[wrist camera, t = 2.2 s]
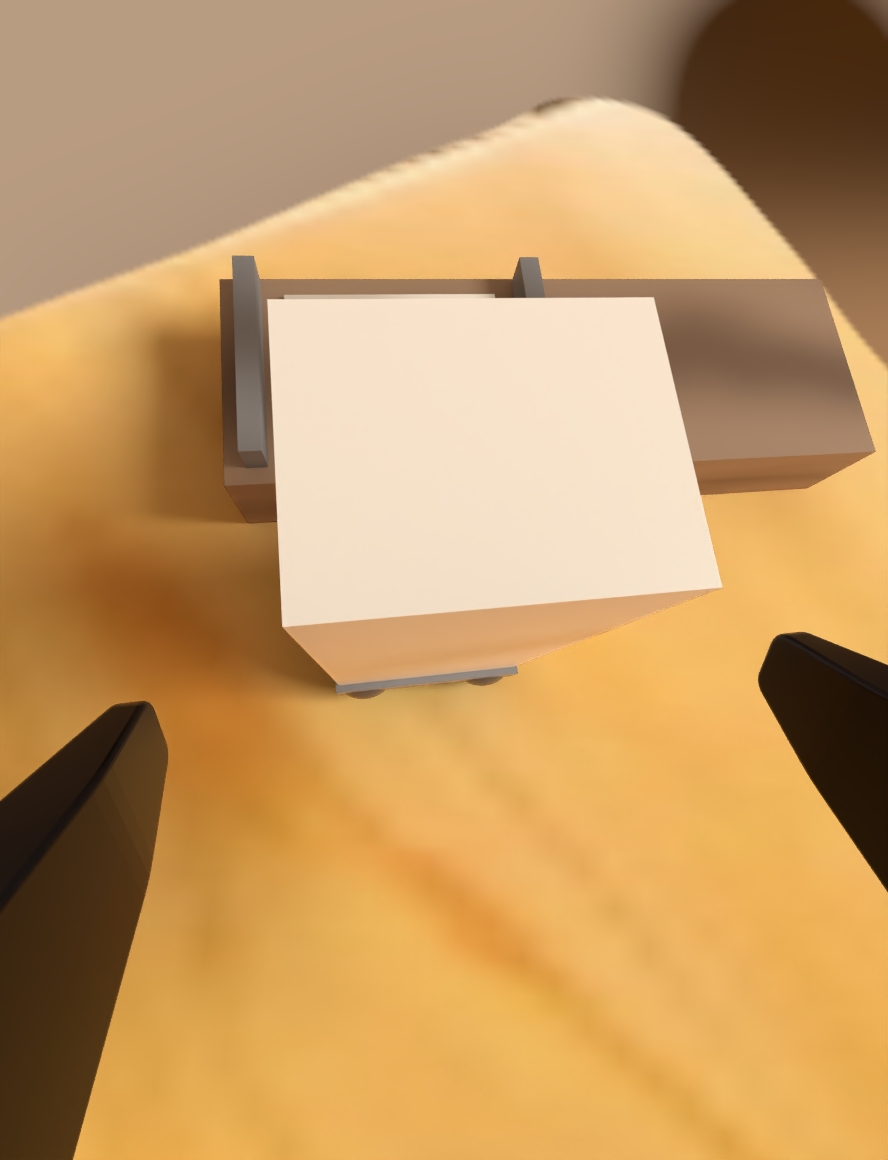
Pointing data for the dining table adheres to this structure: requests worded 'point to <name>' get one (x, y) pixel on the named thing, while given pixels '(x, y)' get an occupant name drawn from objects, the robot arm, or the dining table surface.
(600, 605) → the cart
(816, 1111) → the dining table surface
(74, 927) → the robot arm
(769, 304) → the dock
